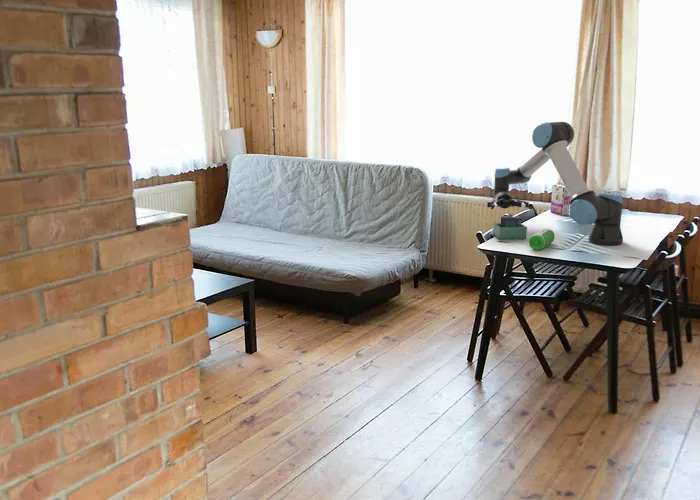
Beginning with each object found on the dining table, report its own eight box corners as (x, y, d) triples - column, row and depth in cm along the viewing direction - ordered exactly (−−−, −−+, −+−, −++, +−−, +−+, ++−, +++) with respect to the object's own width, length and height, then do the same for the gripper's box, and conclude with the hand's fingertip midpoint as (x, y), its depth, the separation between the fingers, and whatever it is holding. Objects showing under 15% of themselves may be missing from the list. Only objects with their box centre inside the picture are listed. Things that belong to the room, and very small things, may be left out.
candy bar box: (569, 215, 375) (571, 186, 371) (561, 215, 373) (563, 187, 369) (557, 211, 385) (559, 183, 381) (550, 212, 384) (551, 184, 380)
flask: (518, 234, 325) (519, 212, 322) (519, 235, 322) (520, 213, 319) (499, 234, 325) (500, 212, 323) (500, 235, 323) (501, 214, 320)
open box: (526, 239, 320) (527, 227, 318) (499, 240, 318) (500, 227, 317) (519, 234, 330) (519, 222, 328) (492, 235, 328) (493, 223, 327)
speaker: (543, 252, 296) (544, 235, 294) (527, 249, 300) (528, 233, 298) (555, 244, 310) (556, 228, 308) (539, 242, 314) (540, 226, 312)
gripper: (527, 207, 341) (536, 215, 320) (479, 207, 342) (484, 215, 322) (528, 193, 339) (536, 200, 318) (479, 193, 341) (484, 200, 320)
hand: (510, 207), depth 320 cm, fingers open, 13 cm apart
